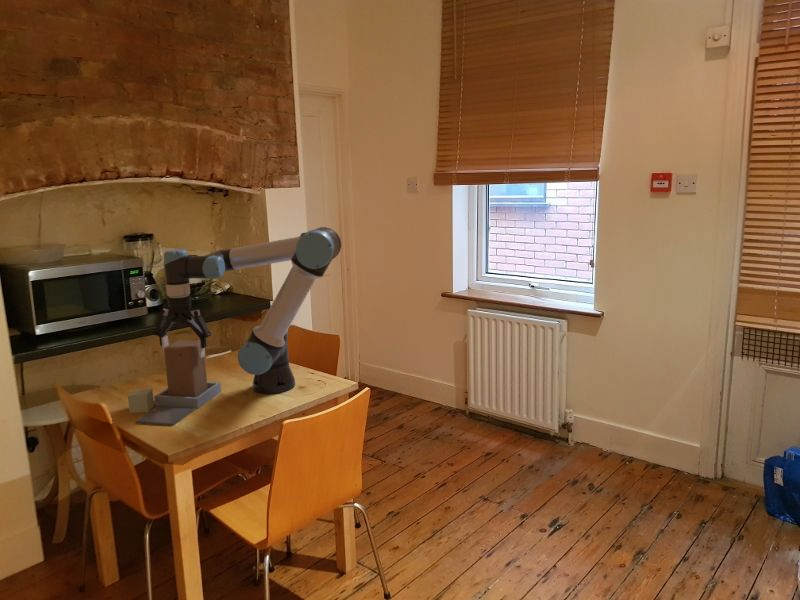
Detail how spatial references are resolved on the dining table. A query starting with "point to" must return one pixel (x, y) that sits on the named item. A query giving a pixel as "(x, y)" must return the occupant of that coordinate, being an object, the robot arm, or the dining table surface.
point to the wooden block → (185, 369)
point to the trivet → (165, 415)
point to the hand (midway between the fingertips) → (184, 356)
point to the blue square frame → (189, 402)
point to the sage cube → (140, 400)
